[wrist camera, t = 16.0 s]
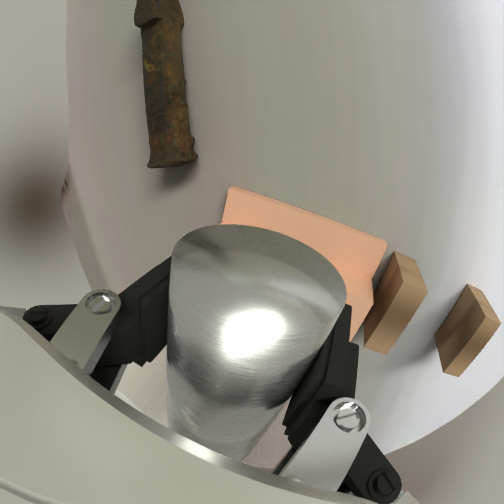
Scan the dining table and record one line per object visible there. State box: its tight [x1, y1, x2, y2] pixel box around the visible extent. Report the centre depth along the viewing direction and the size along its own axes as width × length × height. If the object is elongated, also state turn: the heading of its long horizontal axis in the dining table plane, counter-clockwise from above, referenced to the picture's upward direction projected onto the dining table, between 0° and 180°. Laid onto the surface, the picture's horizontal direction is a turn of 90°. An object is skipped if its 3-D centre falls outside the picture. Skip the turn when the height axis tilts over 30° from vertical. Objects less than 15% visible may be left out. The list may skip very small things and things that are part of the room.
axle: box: [166, 224, 347, 462], centre depth 11 cm, size 12×5×5 cm, turn 166°
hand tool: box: [134, 0, 198, 168], centre depth 18 cm, size 19×4×5 cm, turn 3°
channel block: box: [364, 251, 501, 377], centre depth 18 cm, size 6×10×5 cm, turn 76°
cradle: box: [219, 186, 387, 342], centre depth 22 cm, size 10×13×4 cm
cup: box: [114, 345, 168, 428], centre depth 27 cm, size 10×10×13 cm
